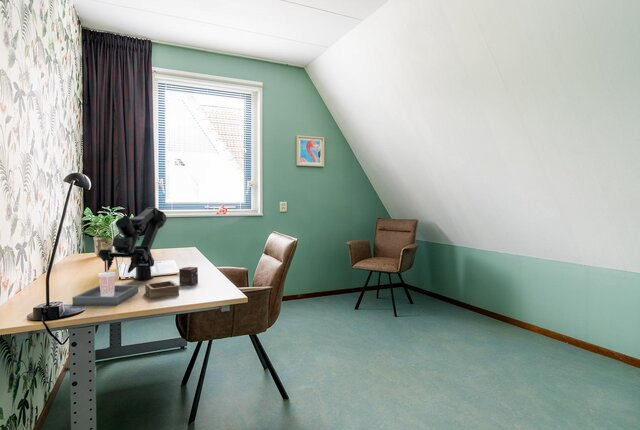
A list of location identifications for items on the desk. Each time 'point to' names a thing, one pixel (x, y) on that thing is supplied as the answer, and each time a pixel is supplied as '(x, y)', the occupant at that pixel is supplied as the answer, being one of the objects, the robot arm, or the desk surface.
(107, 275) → the beverage cup
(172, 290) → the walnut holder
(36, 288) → the desk surface
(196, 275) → the box
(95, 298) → the charcoal tray
